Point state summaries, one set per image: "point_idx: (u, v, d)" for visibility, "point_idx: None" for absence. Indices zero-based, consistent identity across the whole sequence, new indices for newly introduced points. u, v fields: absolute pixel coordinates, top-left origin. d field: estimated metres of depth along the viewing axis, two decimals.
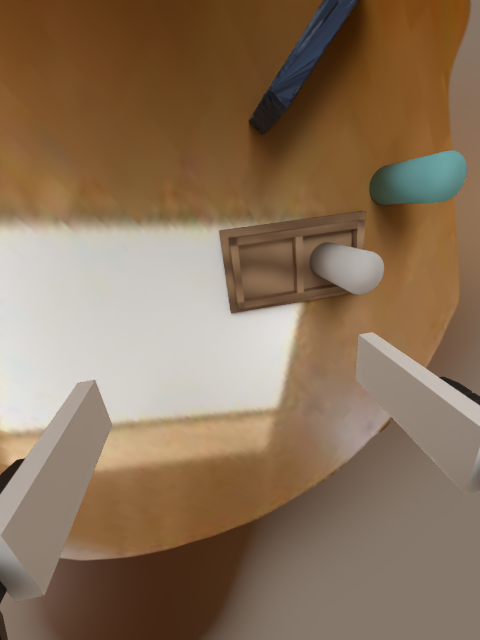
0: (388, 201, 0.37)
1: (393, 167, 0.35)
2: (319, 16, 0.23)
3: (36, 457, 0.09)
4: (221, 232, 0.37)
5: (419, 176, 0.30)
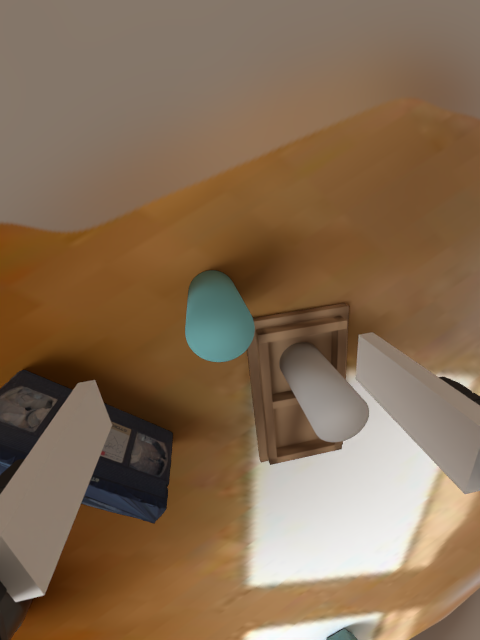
0: None
1: None
2: (87, 502, 0.24)
3: (36, 457, 0.09)
4: (262, 460, 0.37)
5: None
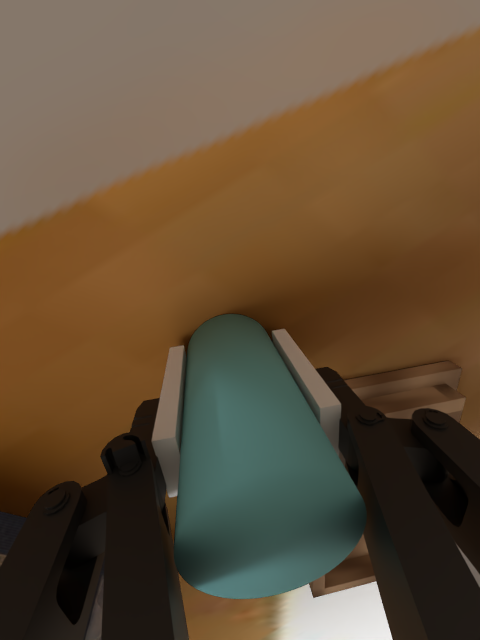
0: None
1: None
2: None
3: (169, 394, 0.11)
4: None
5: None
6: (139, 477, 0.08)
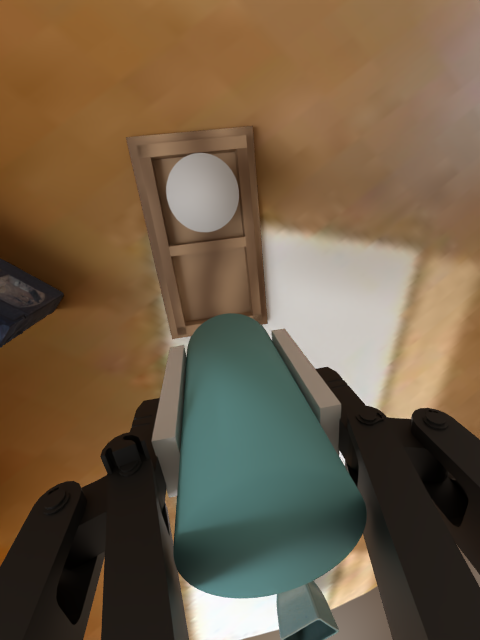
0: None
1: None
2: None
3: (169, 394, 0.11)
4: (173, 337, 0.33)
5: None
6: (139, 477, 0.08)
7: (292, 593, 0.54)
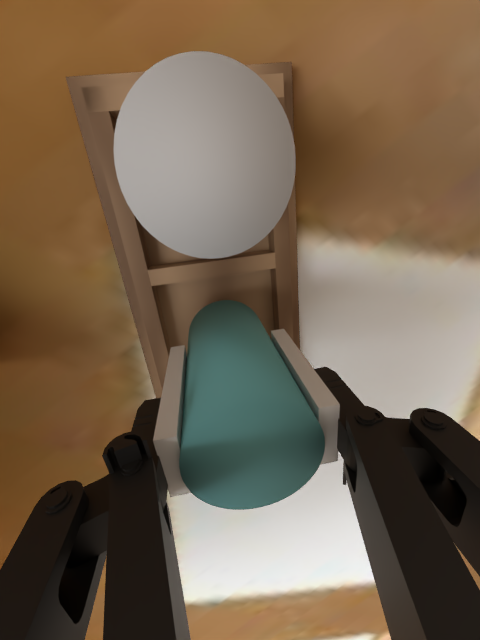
0: None
1: None
2: None
3: (170, 393, 0.11)
4: None
5: None
6: (141, 476, 0.08)
7: None
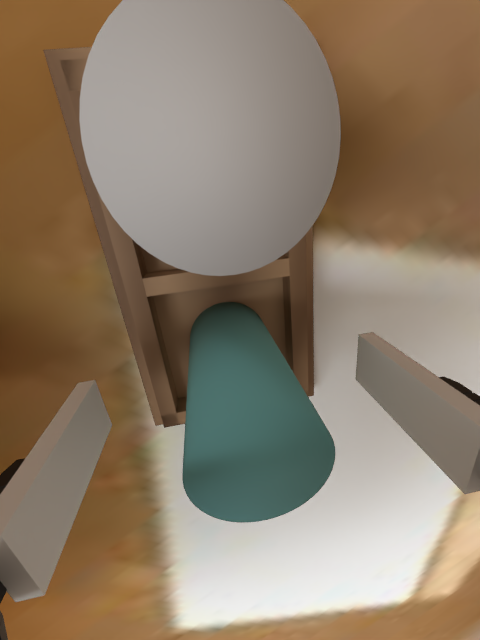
0: None
1: None
2: None
3: (36, 457, 0.09)
4: (157, 422, 0.20)
5: None
6: None
7: None
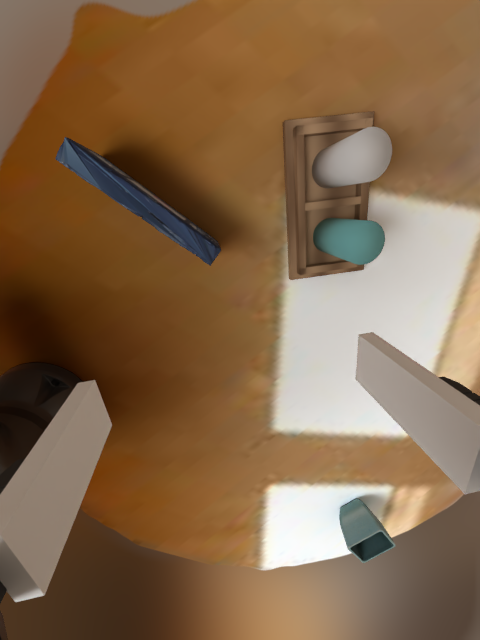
0: None
1: (325, 250, 0.38)
2: (161, 228, 0.30)
3: (36, 457, 0.09)
4: (292, 278, 0.43)
5: None
6: None
7: (354, 515, 0.64)
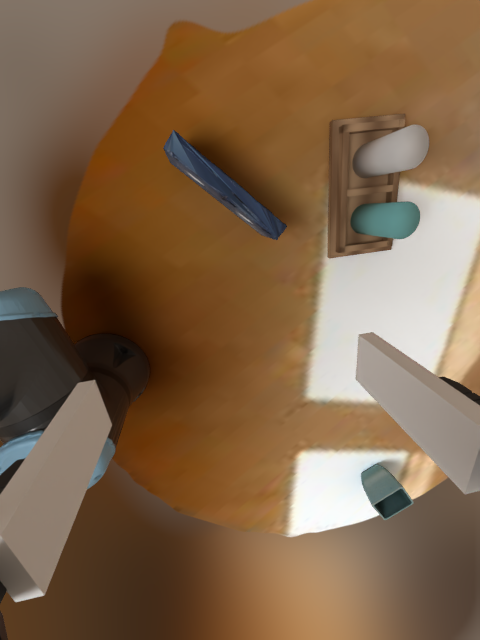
0: None
1: (363, 230, 0.45)
2: (241, 207, 0.36)
3: (36, 457, 0.09)
4: (331, 256, 0.49)
5: (395, 238, 0.40)
6: None
7: (375, 477, 0.70)
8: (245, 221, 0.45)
